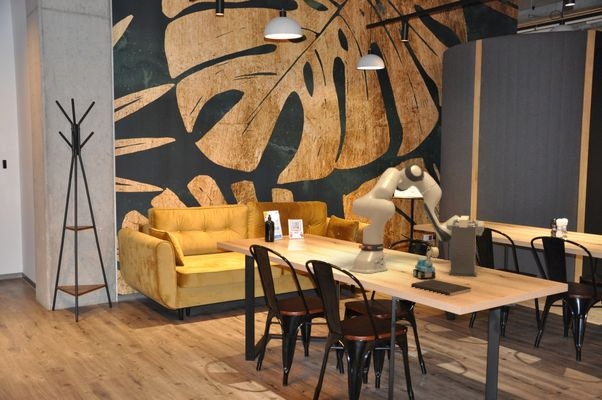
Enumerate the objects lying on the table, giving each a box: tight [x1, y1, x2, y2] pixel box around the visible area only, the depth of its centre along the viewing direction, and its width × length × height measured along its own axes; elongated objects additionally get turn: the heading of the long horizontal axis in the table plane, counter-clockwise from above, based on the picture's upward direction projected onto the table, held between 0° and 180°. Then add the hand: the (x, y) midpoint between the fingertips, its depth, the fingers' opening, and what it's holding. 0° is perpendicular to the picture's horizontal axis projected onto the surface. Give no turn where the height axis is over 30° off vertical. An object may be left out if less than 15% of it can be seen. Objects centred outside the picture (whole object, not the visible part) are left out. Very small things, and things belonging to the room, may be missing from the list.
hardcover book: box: [410, 278, 472, 297], centre depth 287 cm, size 16×23×2 cm
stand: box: [447, 224, 478, 278], centre depth 321 cm, size 10×14×26 cm
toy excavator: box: [412, 246, 440, 280], centre depth 310 cm, size 9×17×17 cm, turn 16°
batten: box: [459, 215, 470, 228], centre depth 322 cm, size 20×4×4 cm, turn 162°
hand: (464, 219), depth 328 cm, fingers open, 8 cm apart
